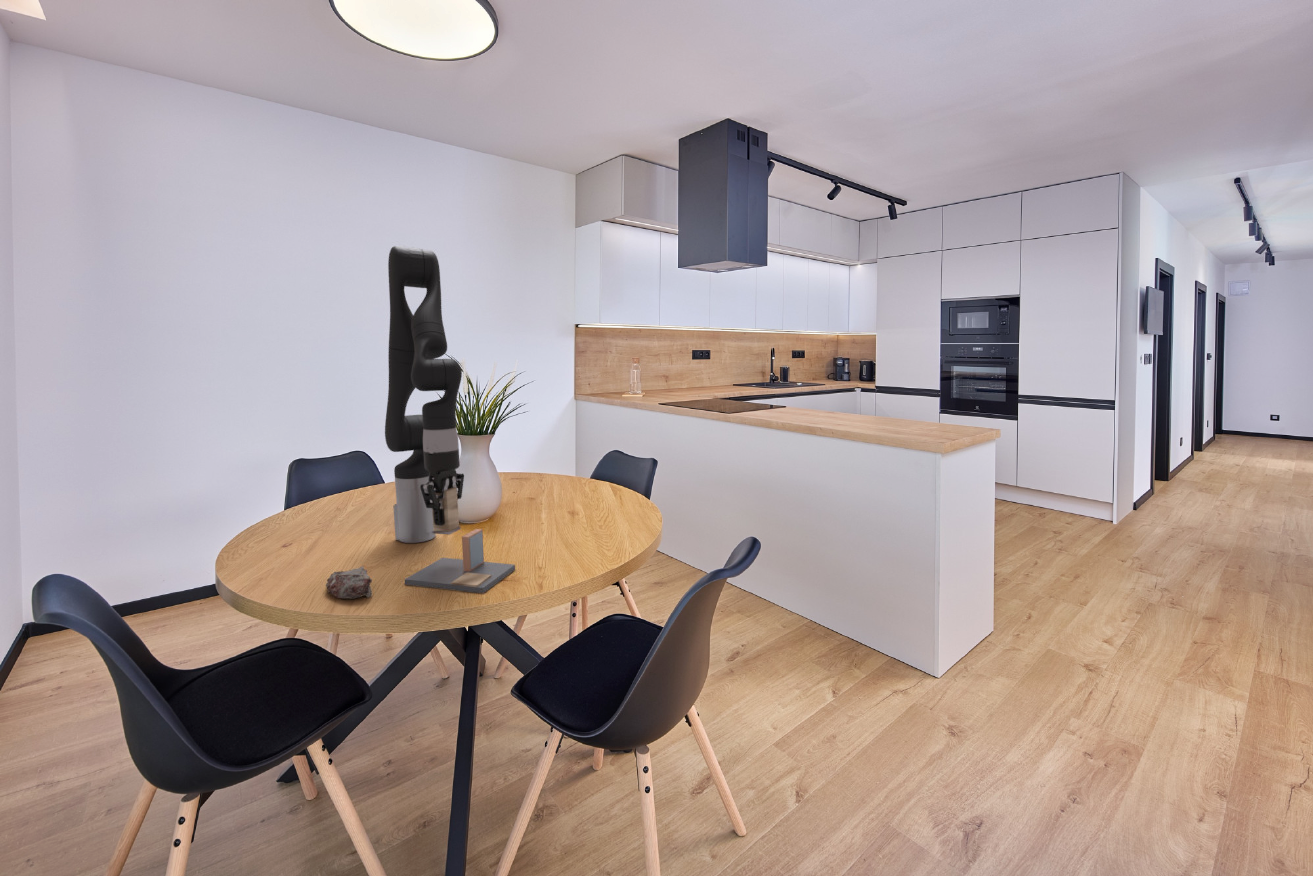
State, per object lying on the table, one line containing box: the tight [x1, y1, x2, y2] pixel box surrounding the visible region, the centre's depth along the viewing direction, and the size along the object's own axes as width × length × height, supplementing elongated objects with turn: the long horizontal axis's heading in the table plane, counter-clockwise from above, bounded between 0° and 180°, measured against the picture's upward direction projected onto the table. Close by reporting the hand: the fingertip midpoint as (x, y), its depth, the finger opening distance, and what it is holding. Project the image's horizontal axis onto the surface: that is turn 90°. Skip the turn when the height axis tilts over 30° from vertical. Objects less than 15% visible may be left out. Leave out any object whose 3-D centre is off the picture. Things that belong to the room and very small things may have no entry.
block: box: [432, 487, 461, 536], centre depth 137 cm, size 4×4×10 cm
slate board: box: [403, 557, 516, 594], centre depth 134 cm, size 19×14×1 cm
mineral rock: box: [325, 566, 373, 600], centre depth 126 cm, size 15×8×4 cm, turn 33°
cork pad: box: [451, 572, 491, 587], centre depth 129 cm, size 6×6×1 cm
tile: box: [461, 528, 485, 572], centre depth 137 cm, size 2×6×8 cm, turn 166°
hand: (445, 521), depth 137 cm, fingers closed on block, 4 cm apart
